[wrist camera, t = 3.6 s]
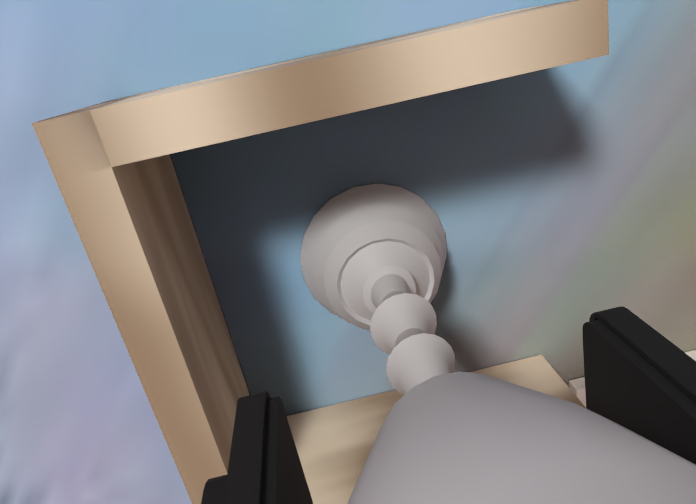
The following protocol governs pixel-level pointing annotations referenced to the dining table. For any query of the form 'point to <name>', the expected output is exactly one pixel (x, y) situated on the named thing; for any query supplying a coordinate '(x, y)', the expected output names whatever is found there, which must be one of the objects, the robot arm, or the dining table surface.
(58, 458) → the dining table surface
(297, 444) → the cubby
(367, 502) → the chalice
